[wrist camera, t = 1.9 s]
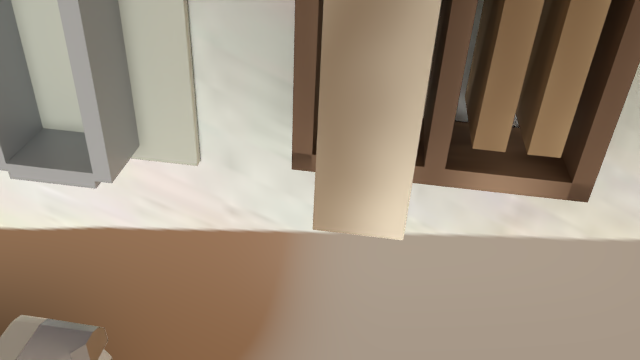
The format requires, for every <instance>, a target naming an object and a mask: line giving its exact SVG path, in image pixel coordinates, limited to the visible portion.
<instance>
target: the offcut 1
mask: <svg viewBox="0 0 640 360" xmlns="http://www.w3.org/2000/svg"><path fill="white" fill-rule="evenodd" d="M543 4H544V0H484V4H483V9H482V14H481V19H480V24H479V29H478V34H477V39H476V44H475V49H474V54H473V59H472V64H471V69H470V74H469V79H468V84H467V89H466V94H465V101H466V108H467V115H468V121H469V128H470V135H471V142H472V149H481V150H490V151H500V152H505V151H506V148H507V144H508V140H509V136H510V132H511V128H512V124H513V120H514V117H515V113H516V109H517V105H518V101H519V97H520V93H521V89H522V86H523V82H524V78H525V74H526V70H527V66H528V62H529V58H530V55H531V51H532V47H533V43H534V39H535V35H536V31H537V27H538V24H539V20H540V16H541V12H542V8H543Z"/></svg>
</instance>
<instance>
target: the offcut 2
mask: <svg viewBox="0 0 640 360" xmlns="http://www.w3.org/2000/svg"><path fill="white" fill-rule="evenodd" d="M610 3H611V0H544V4H543V8H542V12H541V16H540V20H539V24H538V27H537V31H536V35H535V39H534V43H533V47H532V51H531V55H530V58H529V62H528V66H527V70H526V74H525V78H524V82H523V86H522V89H521V93H520V97H519V101H518V105H517V109H516V116H517V120H518V123H519V127H520V130H521V134H522V138H523V141H524V145H525V148H526V152H527V154H528V155H537V156H547V157H556V158H561V155H562V152H563V149H564V146H565V143H566V140H567V137H568V134H569V131H570V127H571V124H572V121H573V118H574V115H575V112H576V109H577V106H578V103H579V100H580V96H581V93H582V90H583V87H584V84H585V81H586V78H587V75H588V72H589V68H590V65H591V62H592V59H593V56H594V53H595V50H596V47H597V44H598V40H599V37H600V34H601V31H602V28H603V25H604V22H605V19H606V16H607V13H608V9H609V6H610Z"/></svg>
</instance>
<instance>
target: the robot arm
mask: <svg viewBox="0 0 640 360" xmlns="http://www.w3.org/2000/svg"><path fill="white" fill-rule="evenodd" d="M107 342H108V338H107V335H106V331H105V328H102V327H97V326H90V325H84V324H78V323H71V322H65V321H59V320H53V319H46V318H39V317H32V316H25V315H21V316H19V317H18V318H16V319H15V320H13V321H12V322H11V324H10V325H9V326H8V328H7V329H6V331H5V332H4V333H3V335H2V336H1V337H0V360H112V357H111V356H110V355H109V354H108V353H107V352H106V351H105V350H104V347H105V345H106V343H107Z"/></svg>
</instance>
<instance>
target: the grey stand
mask: <svg viewBox="0 0 640 360" xmlns="http://www.w3.org/2000/svg"><path fill="white" fill-rule="evenodd" d="M130 158H131V159H140V160H149V161H158V162H167V163H176V164H184V165H193V166H198V164H199V162H200V150H199V138H198V126H197V114H196V101H195V89H194V77H193V65H192V53H191V41H190V29H189V16H188V4H187V0H0V170H3V171H8V172H9V175H10V179H19V180H27V181H36V182H44V183H53V184H61V185H70V186H78V187H87V188H95V189H96V188H97V187H98V185H99V184H100V183H101V182H106V183H112V182H113V181H114V180H115V178H116V177H117V176H118V174H119V173H120V172H121V170H122V169H123V168H124V166H125V165H126V163H127V162H128V161H129V159H130Z"/></svg>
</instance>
